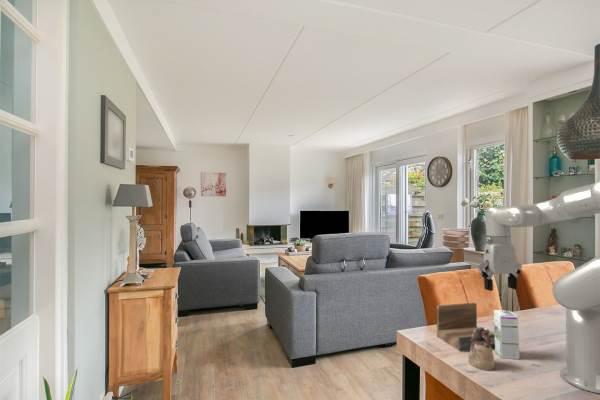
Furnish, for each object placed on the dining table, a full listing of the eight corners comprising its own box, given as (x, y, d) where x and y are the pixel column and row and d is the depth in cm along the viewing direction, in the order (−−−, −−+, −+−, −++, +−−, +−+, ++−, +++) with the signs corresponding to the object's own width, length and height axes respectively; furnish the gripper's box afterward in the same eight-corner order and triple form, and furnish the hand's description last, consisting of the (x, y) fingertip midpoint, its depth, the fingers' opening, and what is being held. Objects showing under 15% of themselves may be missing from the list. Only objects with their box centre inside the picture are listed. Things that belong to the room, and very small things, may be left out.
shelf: (502, 347, 114) (501, 313, 114) (460, 351, 110) (460, 317, 111) (474, 332, 127) (474, 302, 127) (436, 336, 123) (436, 305, 124)
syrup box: (520, 360, 105) (519, 315, 105) (500, 358, 106) (499, 314, 106) (512, 352, 110) (511, 310, 110) (493, 350, 111) (493, 309, 112)
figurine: (480, 358, 106) (479, 322, 106) (499, 368, 99) (499, 329, 99) (463, 361, 104) (463, 324, 104) (482, 372, 97) (482, 332, 97)
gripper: (485, 242, 108) (487, 293, 107) (528, 240, 111) (530, 290, 110) (469, 240, 115) (471, 288, 114) (510, 239, 118) (512, 285, 117)
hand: (500, 289), depth 112 cm, fingers open, 9 cm apart
